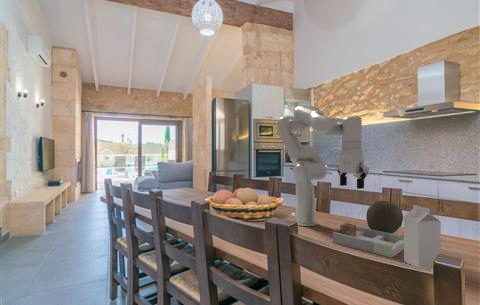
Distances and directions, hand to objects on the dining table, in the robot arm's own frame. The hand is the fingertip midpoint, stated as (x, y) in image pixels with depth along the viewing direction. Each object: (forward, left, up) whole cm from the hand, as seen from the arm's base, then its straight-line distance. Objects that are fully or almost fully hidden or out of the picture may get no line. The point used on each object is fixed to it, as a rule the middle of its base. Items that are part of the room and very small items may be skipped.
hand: (351, 186), depth 113 cm
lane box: (+7, -1, -22) cm, 23 cm away
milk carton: (+27, -9, -22) cm, 37 cm away
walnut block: (0, -4, -20) cm, 20 cm away
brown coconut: (+6, +17, -22) cm, 29 cm away
